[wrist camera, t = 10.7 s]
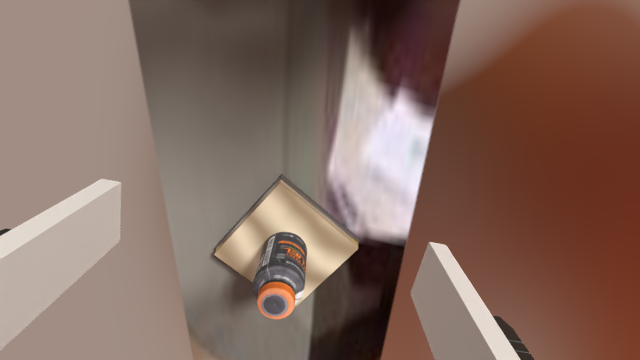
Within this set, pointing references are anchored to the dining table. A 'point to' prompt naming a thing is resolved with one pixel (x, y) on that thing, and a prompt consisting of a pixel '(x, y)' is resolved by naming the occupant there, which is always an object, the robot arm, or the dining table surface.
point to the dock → (288, 216)
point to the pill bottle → (280, 275)
